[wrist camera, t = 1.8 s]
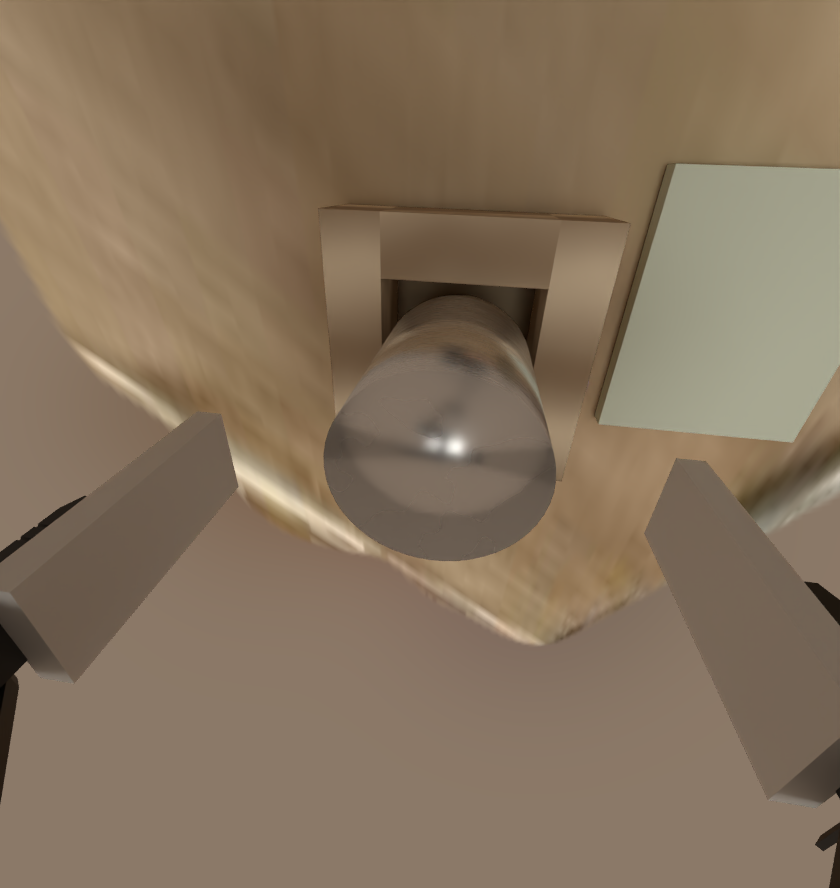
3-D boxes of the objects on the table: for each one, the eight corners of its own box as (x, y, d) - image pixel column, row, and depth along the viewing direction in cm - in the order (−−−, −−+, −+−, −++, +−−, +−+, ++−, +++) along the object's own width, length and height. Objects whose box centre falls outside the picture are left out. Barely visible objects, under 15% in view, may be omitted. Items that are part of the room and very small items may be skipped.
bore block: (346, 204, 20) (318, 208, 17) (605, 216, 19) (630, 223, 16) (357, 422, 26) (339, 457, 23) (551, 441, 25) (561, 481, 22)
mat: (667, 164, 18) (676, 163, 17) (931, 173, 17) (954, 173, 16) (594, 415, 24) (598, 424, 23) (781, 432, 23) (792, 442, 22)
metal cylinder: (402, 268, 21) (312, 359, 10) (532, 276, 21) (582, 382, 10) (401, 386, 25) (332, 547, 14) (512, 396, 24) (532, 573, 13)
